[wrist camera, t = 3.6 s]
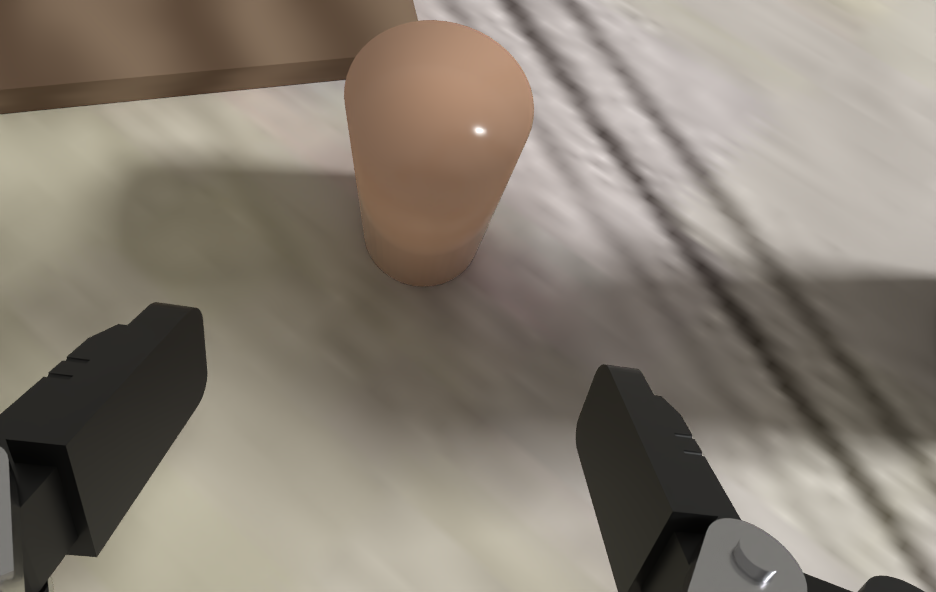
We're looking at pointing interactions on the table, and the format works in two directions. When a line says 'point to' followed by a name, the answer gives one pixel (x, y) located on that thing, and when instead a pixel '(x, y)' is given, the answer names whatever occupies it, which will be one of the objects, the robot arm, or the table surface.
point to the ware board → (177, 46)
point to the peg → (433, 144)
